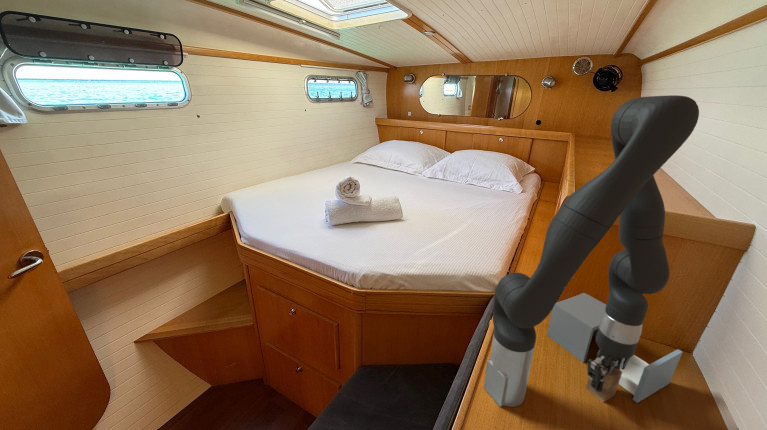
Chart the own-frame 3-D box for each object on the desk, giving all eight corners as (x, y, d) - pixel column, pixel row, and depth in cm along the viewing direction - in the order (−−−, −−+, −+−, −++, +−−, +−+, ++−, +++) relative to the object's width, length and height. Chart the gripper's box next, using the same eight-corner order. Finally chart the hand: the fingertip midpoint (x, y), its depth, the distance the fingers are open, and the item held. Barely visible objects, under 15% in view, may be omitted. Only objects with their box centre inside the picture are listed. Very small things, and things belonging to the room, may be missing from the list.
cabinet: (582, 362, 86) (592, 328, 81) (546, 335, 96) (553, 303, 92) (614, 347, 91) (624, 314, 86) (576, 323, 101) (584, 292, 97)
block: (603, 402, 74) (610, 378, 71) (585, 388, 78) (592, 364, 75) (614, 395, 76) (622, 371, 73) (597, 382, 80) (603, 359, 77)
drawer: (637, 403, 74) (649, 370, 70) (590, 367, 84) (598, 337, 80) (669, 383, 79) (682, 351, 75) (621, 351, 89) (631, 323, 85)
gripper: (616, 352, 64) (598, 408, 70) (655, 333, 70) (635, 387, 75) (582, 329, 71) (568, 383, 77) (620, 313, 76) (605, 365, 82)
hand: (602, 385), depth 76 cm, fingers closed on block, 4 cm apart
